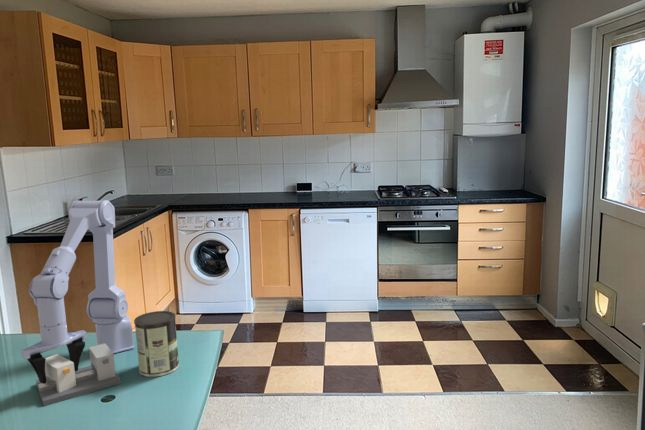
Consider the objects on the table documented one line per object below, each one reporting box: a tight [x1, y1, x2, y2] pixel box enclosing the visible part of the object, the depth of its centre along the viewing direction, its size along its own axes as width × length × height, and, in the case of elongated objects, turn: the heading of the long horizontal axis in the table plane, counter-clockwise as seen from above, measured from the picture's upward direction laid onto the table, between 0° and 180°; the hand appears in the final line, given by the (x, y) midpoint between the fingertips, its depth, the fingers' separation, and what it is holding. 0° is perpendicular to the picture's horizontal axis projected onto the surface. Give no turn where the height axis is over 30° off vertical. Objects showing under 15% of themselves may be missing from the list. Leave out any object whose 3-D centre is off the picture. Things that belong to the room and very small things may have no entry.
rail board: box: [35, 343, 121, 407], centre depth 127 cm, size 17×13×7 cm
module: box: [44, 353, 76, 392], centre depth 125 cm, size 4×9×6 cm, turn 52°
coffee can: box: [133, 310, 180, 378], centre depth 134 cm, size 10×10×14 cm
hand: (59, 376), depth 125 cm, fingers open, 7 cm apart
